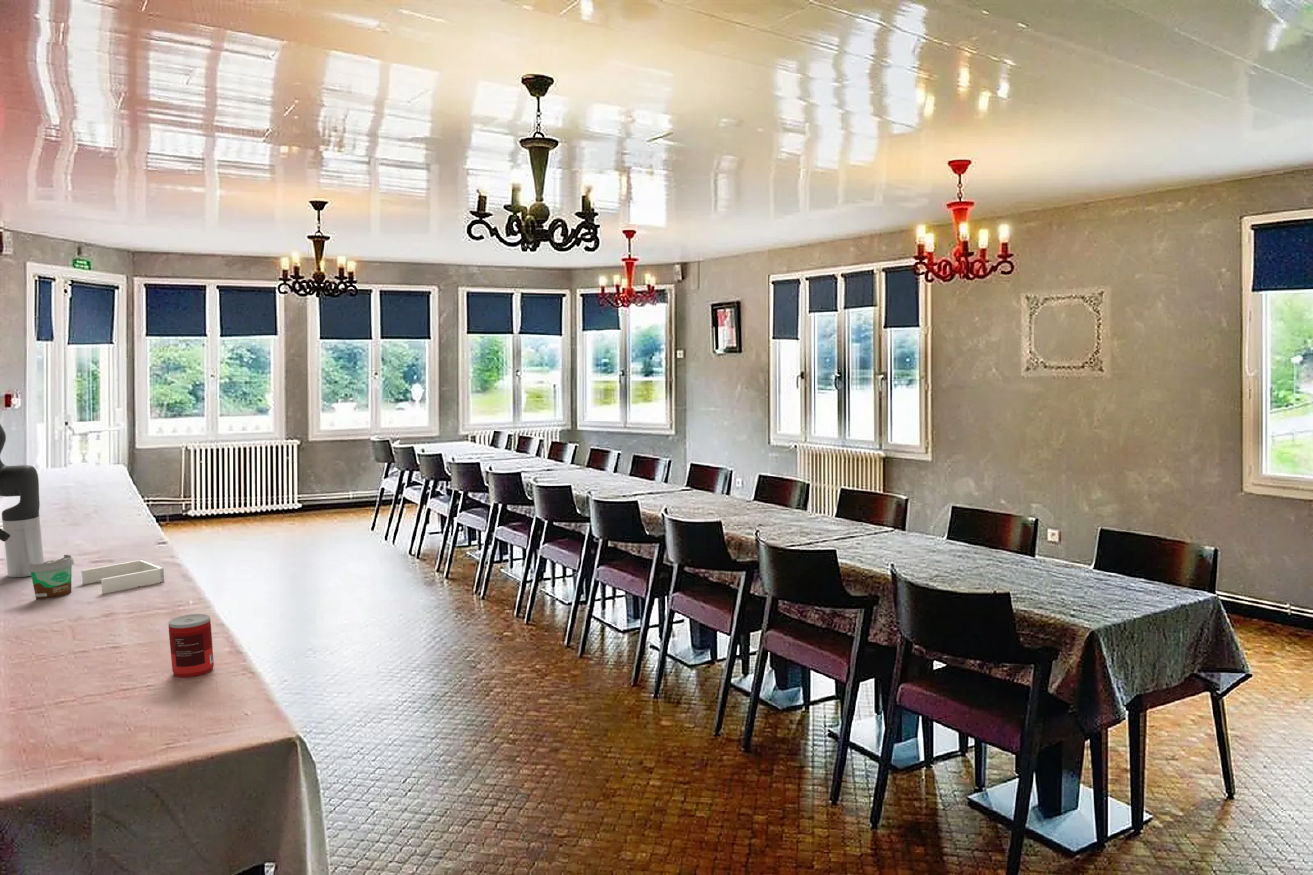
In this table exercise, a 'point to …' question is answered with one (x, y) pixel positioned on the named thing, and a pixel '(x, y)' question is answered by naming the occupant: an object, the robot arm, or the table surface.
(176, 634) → the canned food
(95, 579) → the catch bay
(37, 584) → the food container
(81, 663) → the table surface
